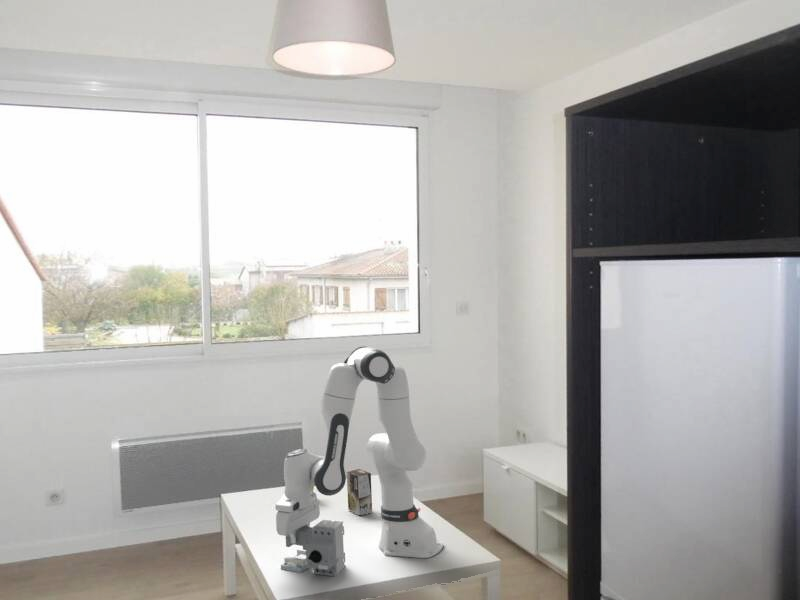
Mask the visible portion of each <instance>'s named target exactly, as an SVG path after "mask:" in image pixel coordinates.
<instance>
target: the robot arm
mask: <svg viewBox="0 0 800 600" xmlns="http://www.w3.org/2000/svg"><path fill="white" fill-rule="evenodd" d="M364 380H367V381H370V382H374V383H375V385H376V388H377V412H378V413H377V414H378V421H379V422H380V424H381V425H382V427H383V429H384V431H385V432H378V433H374V434H373V435H371V436H370V438H369V439H368V440H367V441H368V442H367V445H366V451H367V455H368V456H369V457H370V459H371V460H372V462H373V463H374V467H375V468H376V469H375V470H376V472H377V476H378V479H379V483H380V488H381V489H380V491H381V507H380V512H381V513H380V514H381V516H380V517H381V518H380V519H381V535H380V541H379V545H378V548H379V550H380V551H382V552H383V554H384V555H385V556H392V557H393V556H394V557H404V558H408V557H409V558H417V559H428V558H431V557H434V556H435V555H437V554H438V553H440V552H441V551H442V550H443V548H444V542H443V541H441V540H437V536H436V535H437V534H436V531H435V529H434V527H432V525H430V524H429V523H427V521H425V520H424V519H423V518H422V517H421V516H420V515H419V513H420V512H421V507H418V508H417V507H416V505H415V504H414V485H413V482H412V480H411V478H410V477H409V476H408V474H407V472H413V471H418V470H420V469H421V468H422V467H423V465H424V464H425V461H426V459H427V453H426V449H425V447H424V446H423V444H422V443H421V441H420V440H419V439H418V435H417V434H416V431H415V429H414V425H413V422H412V421H413V420H412V417H411V416H412V415H411V407H410V406H411V405H410V390H409V383H408V376H407V373H406V370H405V368H403V367H402V366H401V365H397V364H394V363H393V362H392V361H391V358H390V356H388V355H387V353H386V352H384V351H382V350H380V349H378V348H375V347H370V346H369V347H368V346H359V347H357V348H355V349H353V350H352V351H351V353H349V355H348V357H347V358H346V359H345V360H344V362H339V363H336V364H334V365H332V367H331V368H330V370H329V373H328V374H327V377H326V380H325V383H324V384H325V385H324V389H323V391H322V392H323V393H322V396H321V403H320V404H321V405H320V408H321V413H320V414H321V415H322V417H323V421H324V422H325V425H326V430H327V440H326V447H325V453H324V455H319V454H315V453H312V452H310V451H309V450H308V449H306V448H299V449H298V448H297V449H294V450H292V451H290V452H288V453H287V454H286V455H285V458H284V462H283V463H284V465H283V480H284V483H285V485H284V486H285V487H284V494H283V495H282V497H281V498H280V499H279V500H278V501H277V503H276V504H275V510H276V511H277V512H276V515H275V524H276V525H275V526H276V532H277V534H278V535H279V536H282V537H283V536H284V537H286V536H287V535H289V536H290V538H291V543H293V545H294V544H295V543H297V542H298V537H296V535H295V534H296V530H298V529H300V528H301V527H303V526H305V527H311V523H312V522H313V521H316V520H317V519H319V518H320V515H321V514H320V513H321V510H320V503H319V499H318V497H317V496H318V495H317V494H316V492H314V491H313V492H311V487H312V486H314V487H316V488H315V489H316V490H317V492H319V493H320V494H321V495H323V496H327V497H328V496H329V497H330V496H333V495H337V494H339V493H340V492H341V491H342V490H343V489H344V487H345V485H346V483H347V474H346V471H345V464H344V463H345V456H346V455H345V454H346V448H347V443H348V442H347V441H348V436H349V428H350V424H351V423H350V422H351V418H352V415H353V409H354V406H355V400H356V396H357V390H358V388H359V386H360V384H361V383H362V382H363V381H364Z"/></svg>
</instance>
